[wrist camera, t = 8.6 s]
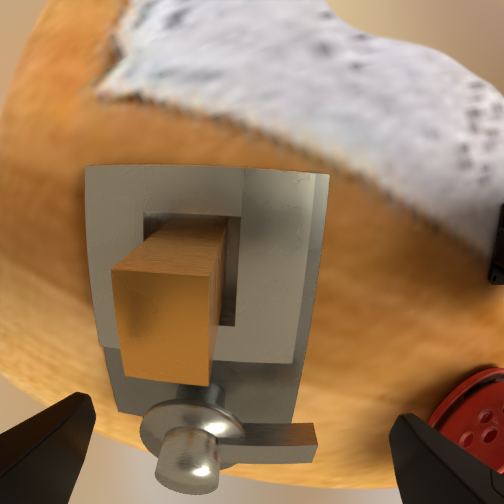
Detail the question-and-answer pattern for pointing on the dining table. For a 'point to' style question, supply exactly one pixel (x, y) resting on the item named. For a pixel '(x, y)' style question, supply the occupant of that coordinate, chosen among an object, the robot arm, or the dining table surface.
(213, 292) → the rectangular wooden peg
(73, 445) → the robot arm
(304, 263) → the grey metal frame fixture
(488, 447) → the plant pot
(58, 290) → the dining table surface
